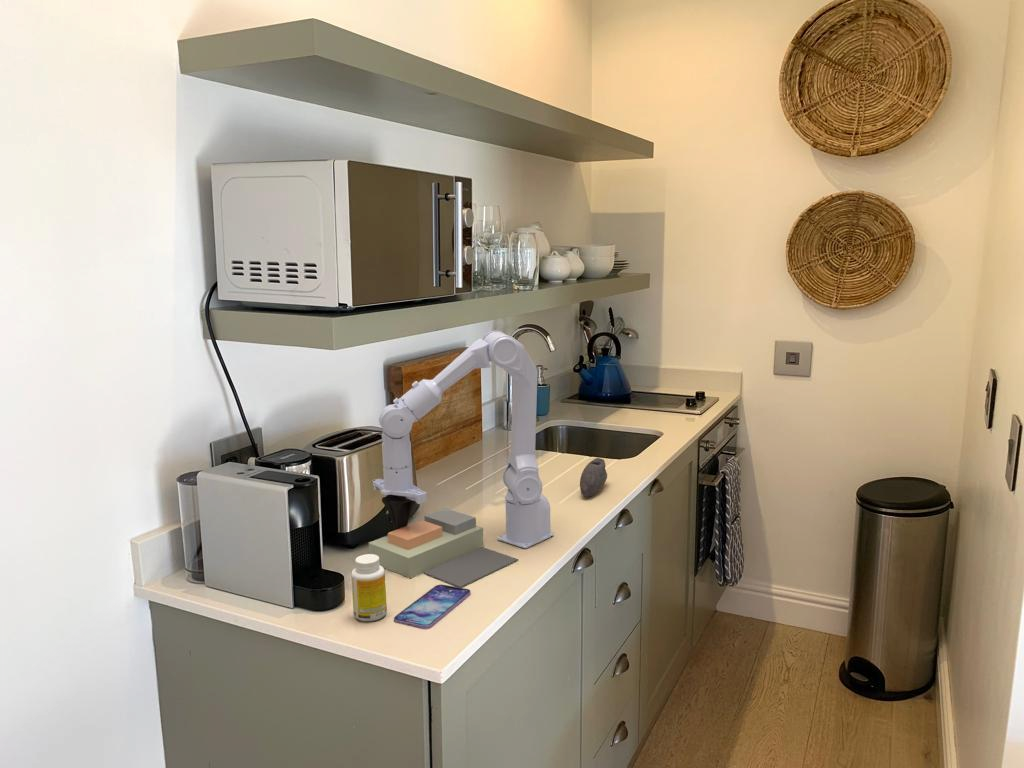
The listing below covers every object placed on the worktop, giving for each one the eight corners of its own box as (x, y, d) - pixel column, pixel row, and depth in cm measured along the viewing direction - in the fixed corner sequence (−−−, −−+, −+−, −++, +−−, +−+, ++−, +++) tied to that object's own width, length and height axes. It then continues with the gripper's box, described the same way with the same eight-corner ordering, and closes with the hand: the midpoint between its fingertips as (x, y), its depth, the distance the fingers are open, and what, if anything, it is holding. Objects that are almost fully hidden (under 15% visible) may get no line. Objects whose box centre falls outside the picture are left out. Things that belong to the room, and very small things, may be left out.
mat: (481, 548, 163) (481, 546, 163) (518, 560, 156) (518, 559, 156) (423, 573, 151) (423, 572, 151) (460, 588, 145) (460, 586, 145)
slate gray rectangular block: (424, 525, 165) (424, 515, 165) (445, 517, 170) (445, 508, 169) (455, 535, 159) (454, 525, 159) (475, 526, 164) (475, 517, 163)
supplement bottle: (393, 615, 135) (390, 558, 133) (364, 626, 131) (361, 568, 129) (375, 604, 139) (372, 549, 137) (347, 614, 135) (344, 558, 134)
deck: (443, 532, 172) (442, 514, 171) (483, 546, 164) (482, 527, 163) (369, 561, 157) (368, 542, 156) (409, 578, 149) (408, 558, 149)
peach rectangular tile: (422, 529, 163) (422, 520, 163) (442, 536, 159) (442, 526, 159) (388, 542, 156) (387, 532, 156) (408, 550, 152) (407, 540, 152)
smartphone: (390, 619, 133) (438, 583, 146) (391, 624, 133) (438, 588, 146) (428, 626, 129) (473, 589, 143) (428, 632, 130) (473, 594, 143)
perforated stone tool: (593, 502, 189) (593, 474, 188) (572, 500, 191) (571, 472, 190) (610, 484, 203) (610, 457, 201) (590, 482, 205) (590, 455, 203)
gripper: (358, 463, 160) (362, 527, 162) (406, 476, 150) (409, 544, 153) (386, 455, 165) (389, 517, 167) (433, 468, 155) (436, 533, 158)
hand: (400, 530), depth 160 cm, fingers closed
